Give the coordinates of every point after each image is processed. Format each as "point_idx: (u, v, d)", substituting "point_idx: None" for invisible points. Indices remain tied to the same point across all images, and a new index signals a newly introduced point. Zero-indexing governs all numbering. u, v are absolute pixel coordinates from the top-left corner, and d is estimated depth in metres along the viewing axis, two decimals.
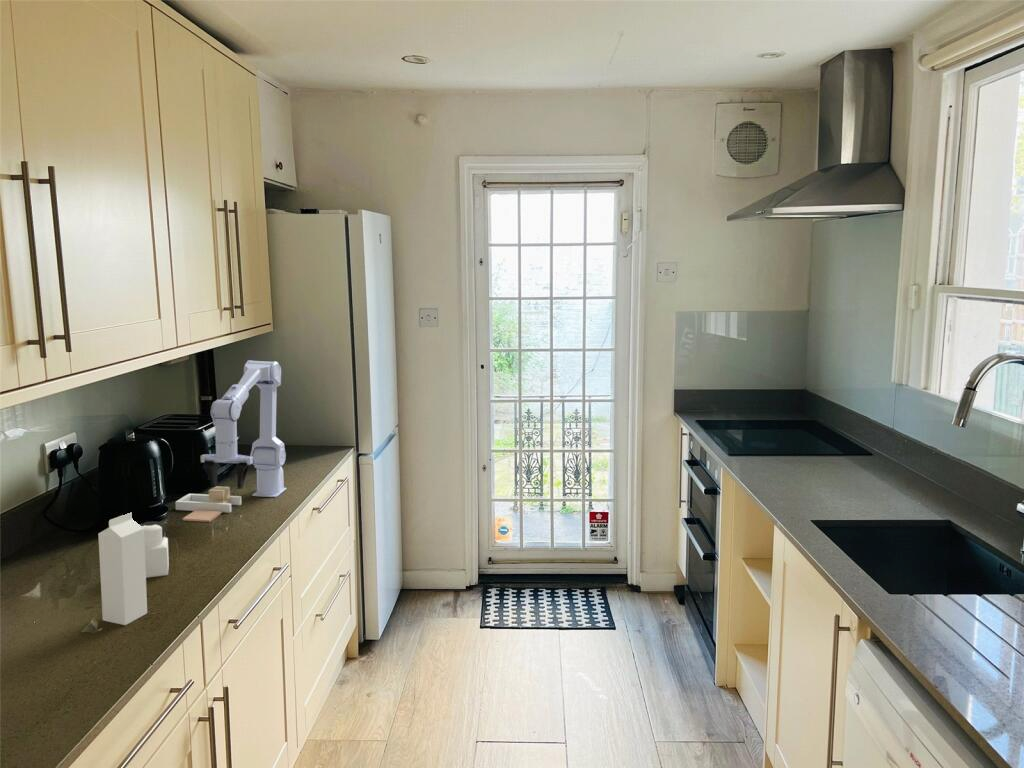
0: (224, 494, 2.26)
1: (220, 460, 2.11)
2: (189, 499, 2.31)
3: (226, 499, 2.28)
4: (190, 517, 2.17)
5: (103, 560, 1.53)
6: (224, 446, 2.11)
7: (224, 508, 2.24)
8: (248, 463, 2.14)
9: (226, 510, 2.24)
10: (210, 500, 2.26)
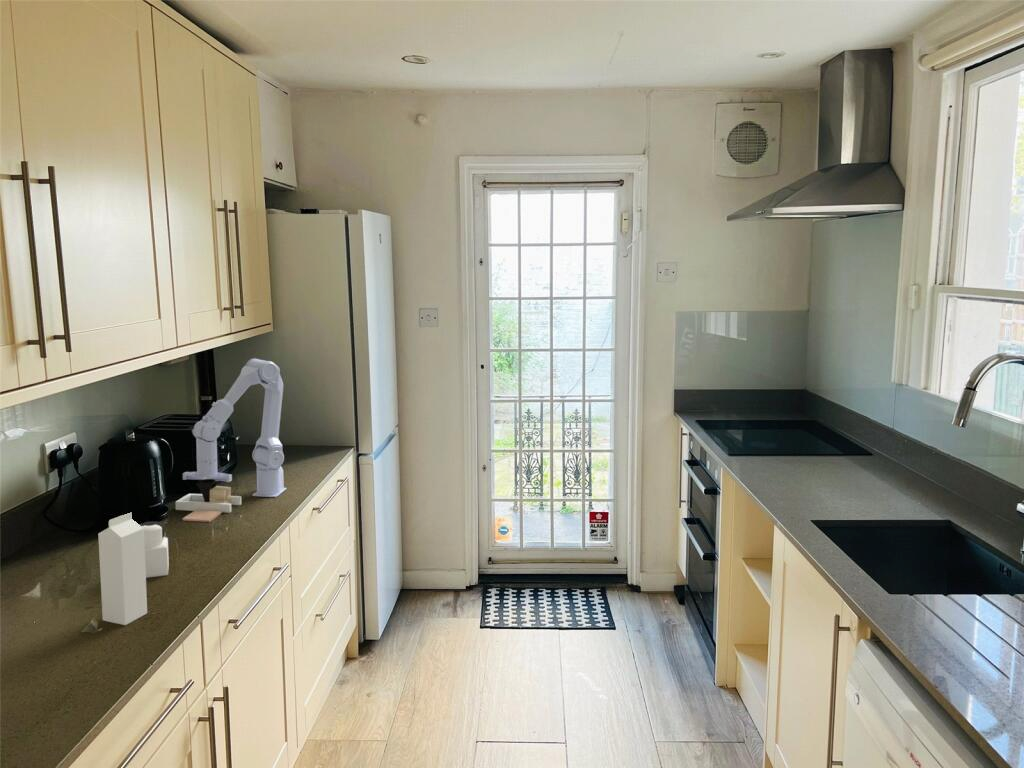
0: (225, 494, 2.26)
1: (200, 478, 2.24)
2: (189, 499, 2.31)
3: (226, 499, 2.28)
4: (190, 517, 2.17)
5: (103, 560, 1.53)
6: (205, 464, 2.24)
7: (224, 508, 2.24)
8: (227, 481, 2.26)
9: (226, 510, 2.24)
10: (211, 500, 2.26)
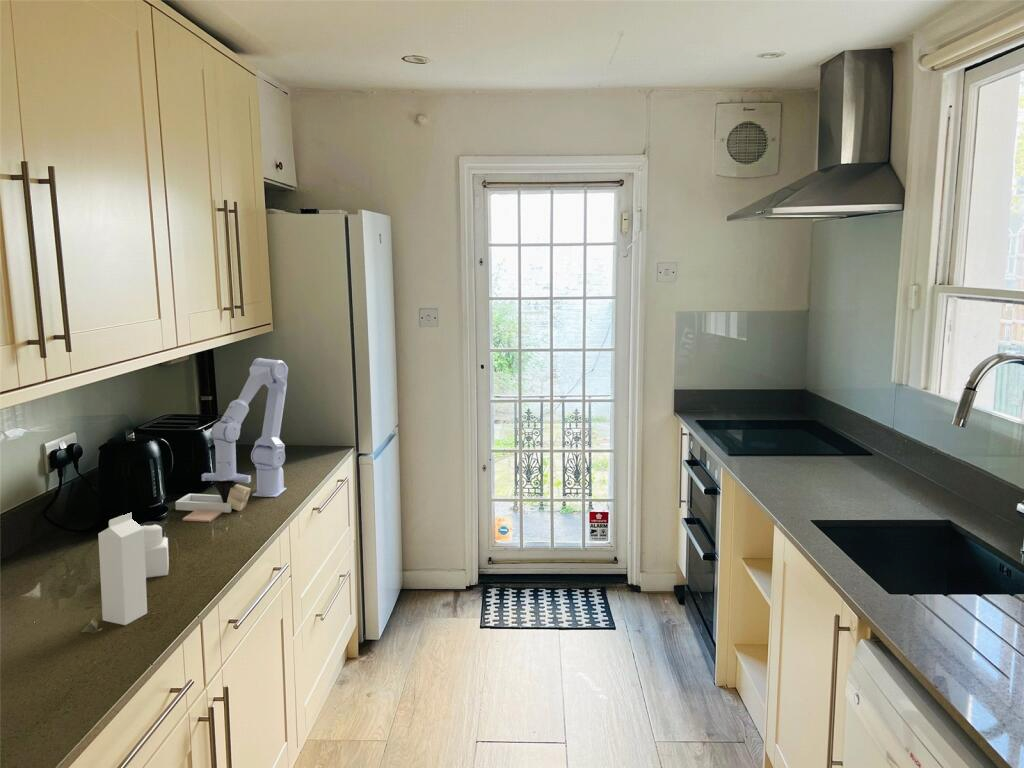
0: (244, 496, 2.26)
1: (220, 479, 2.23)
2: (189, 499, 2.31)
3: (244, 500, 2.27)
4: (190, 517, 2.17)
5: (103, 560, 1.53)
6: (224, 466, 2.24)
7: (224, 508, 2.24)
8: (246, 482, 2.26)
9: (226, 510, 2.24)
10: (229, 498, 2.26)
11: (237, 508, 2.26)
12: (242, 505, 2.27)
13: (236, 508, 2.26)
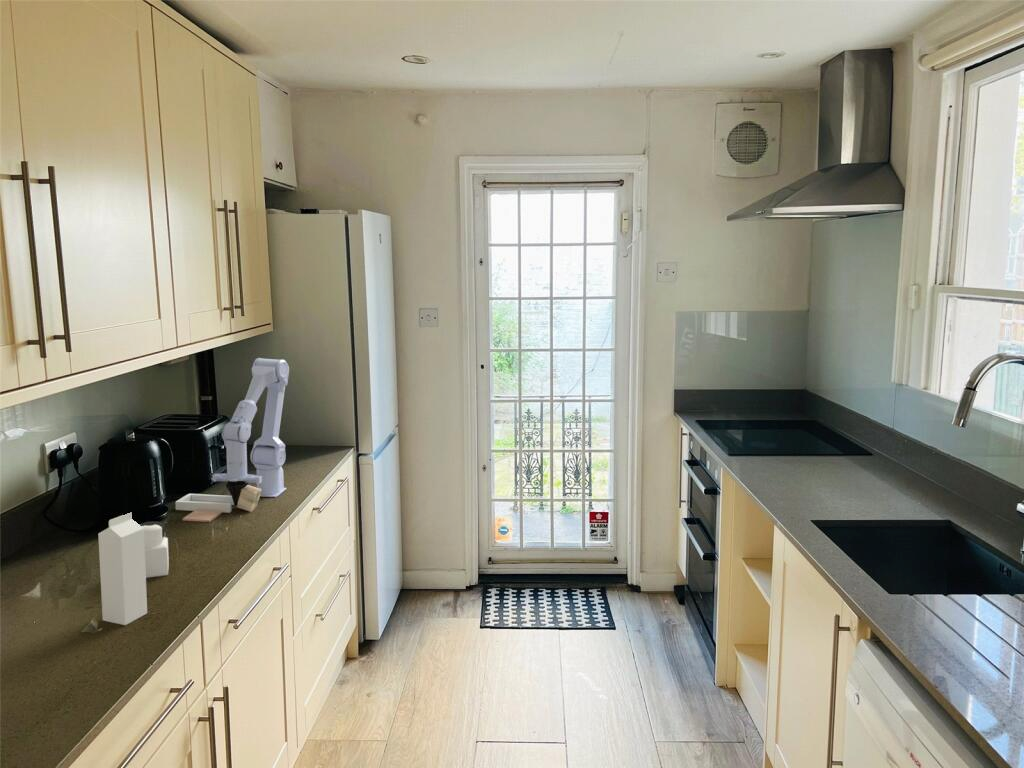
0: (255, 497, 2.26)
1: (231, 480, 2.23)
2: (189, 499, 2.31)
3: (255, 501, 2.27)
4: (190, 517, 2.17)
5: (103, 560, 1.53)
6: (235, 466, 2.24)
7: (224, 508, 2.24)
8: (257, 482, 2.26)
9: (226, 510, 2.24)
10: (240, 498, 2.25)
11: (248, 509, 2.26)
12: (253, 506, 2.27)
13: (247, 509, 2.26)
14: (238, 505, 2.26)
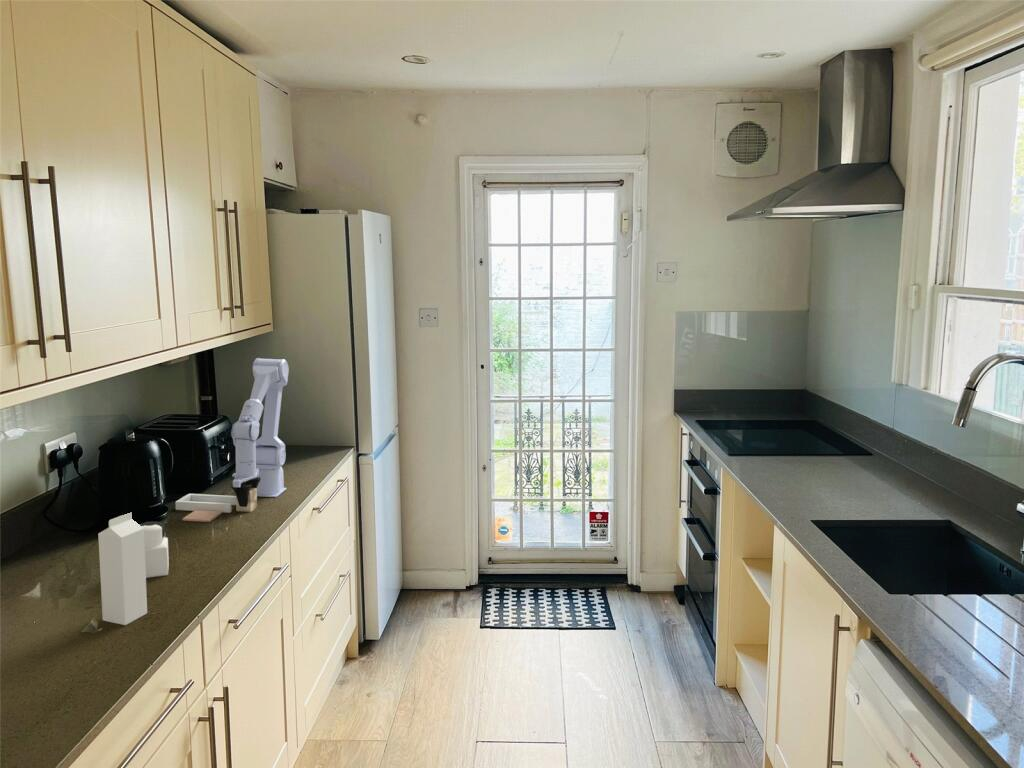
0: (251, 496, 2.26)
1: None
2: (189, 499, 2.31)
3: (253, 500, 2.27)
4: (190, 517, 2.17)
5: (103, 560, 1.53)
6: None
7: (224, 508, 2.24)
8: None
9: (226, 510, 2.24)
10: (237, 501, 2.26)
11: (248, 509, 2.26)
12: (252, 506, 2.27)
13: (247, 509, 2.26)
14: (237, 508, 2.26)
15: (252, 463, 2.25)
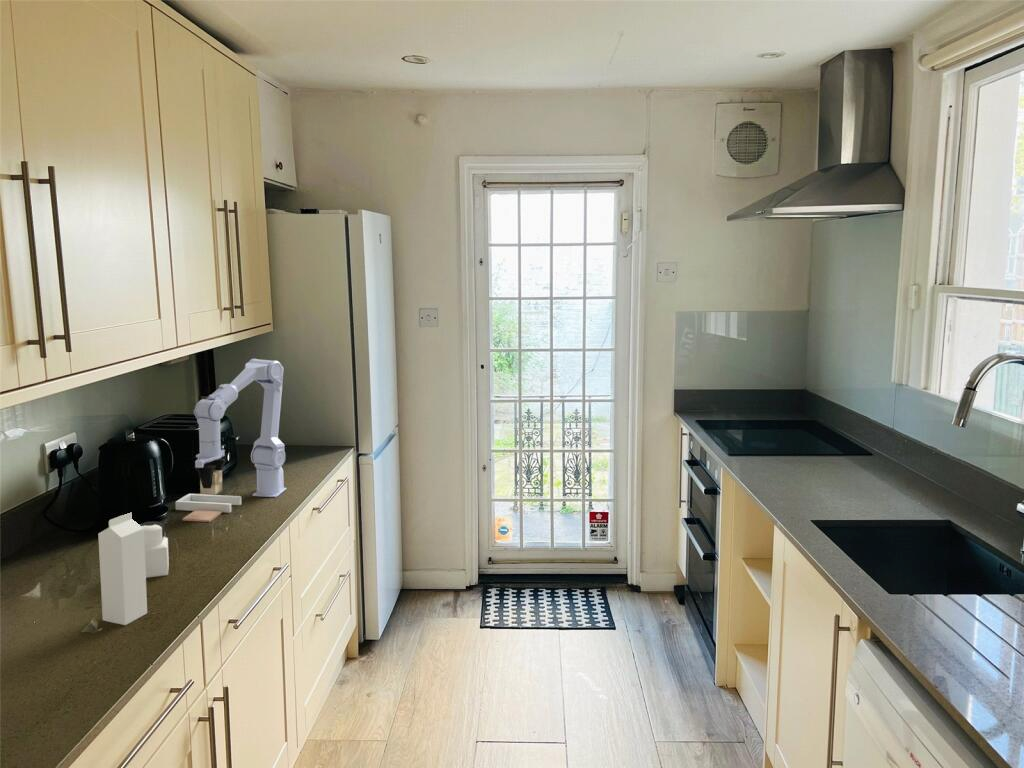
0: (216, 478, 2.18)
1: None
2: (189, 499, 2.31)
3: (218, 483, 2.20)
4: (190, 517, 2.17)
5: (103, 560, 1.53)
6: None
7: (224, 508, 2.24)
8: None
9: (226, 510, 2.24)
10: (201, 484, 2.18)
11: (212, 492, 2.18)
12: (217, 488, 2.19)
13: (211, 492, 2.18)
14: (201, 491, 2.18)
15: (216, 443, 2.17)
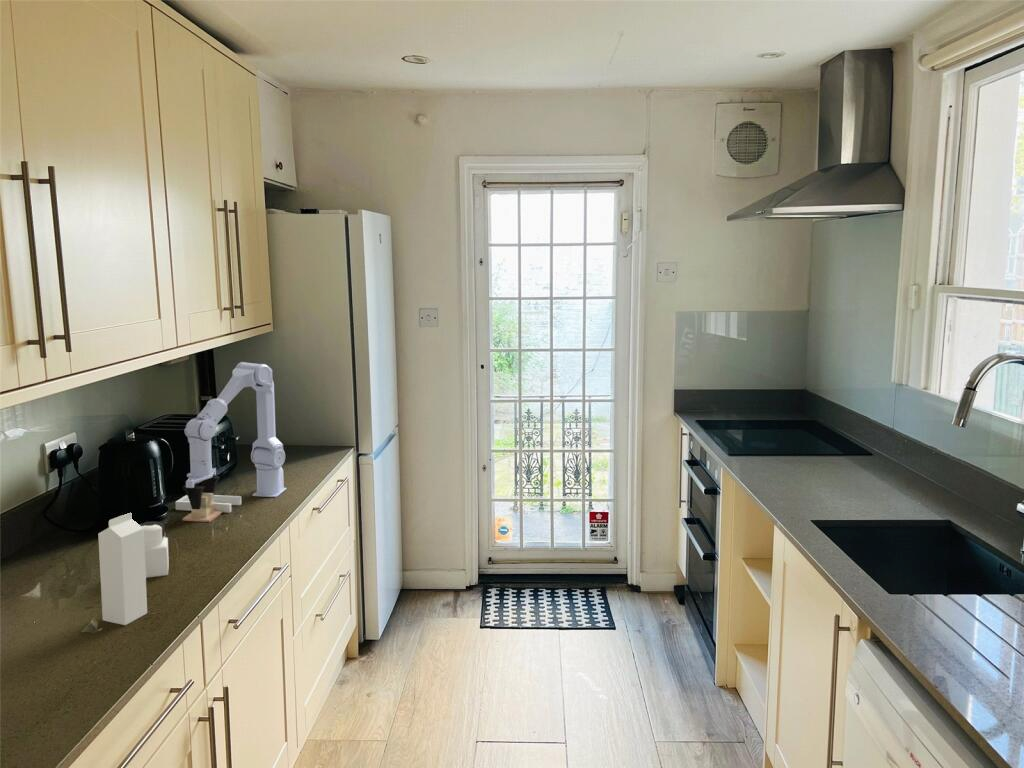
0: (207, 501, 2.18)
1: None
2: None
3: (209, 506, 2.19)
4: (190, 517, 2.17)
5: (103, 560, 1.53)
6: None
7: (224, 508, 2.24)
8: None
9: (226, 510, 2.24)
10: None
11: (203, 515, 2.18)
12: (208, 511, 2.18)
13: (202, 515, 2.18)
14: (192, 514, 2.18)
15: (207, 463, 2.16)
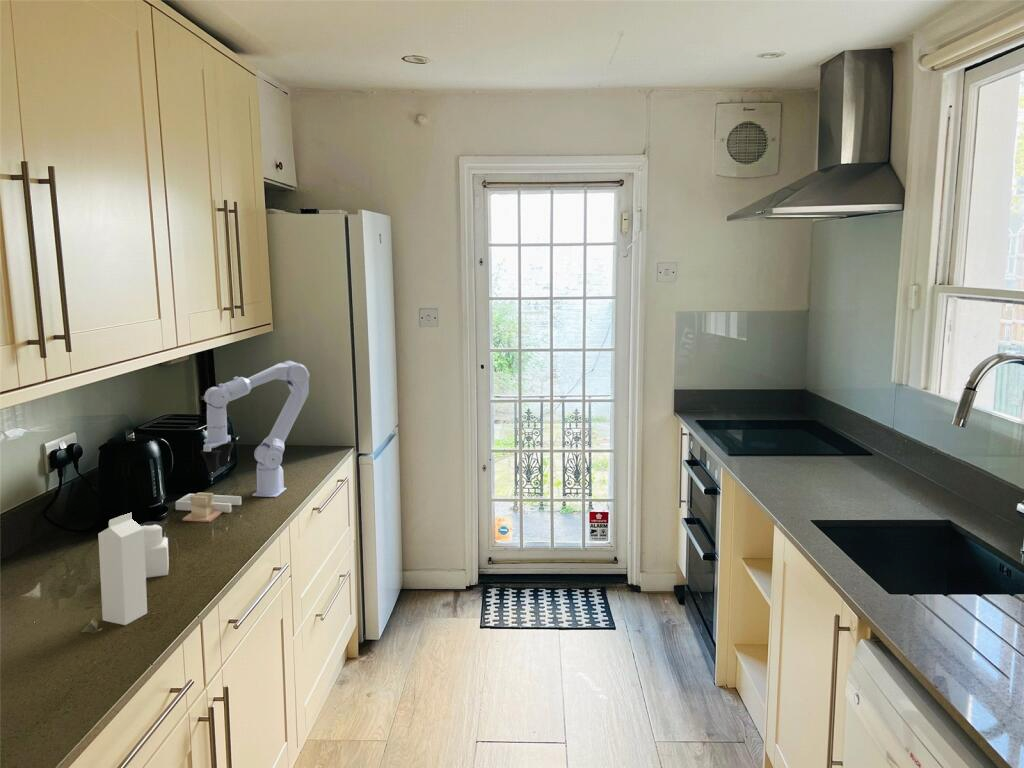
0: (207, 501, 2.18)
1: None
2: (189, 499, 2.31)
3: (209, 506, 2.19)
4: (190, 517, 2.17)
5: (103, 560, 1.53)
6: None
7: (224, 508, 2.24)
8: None
9: (226, 510, 2.24)
10: (192, 507, 2.17)
11: (203, 515, 2.18)
12: (208, 511, 2.18)
13: (202, 515, 2.18)
14: (192, 514, 2.18)
15: (223, 428, 2.30)
